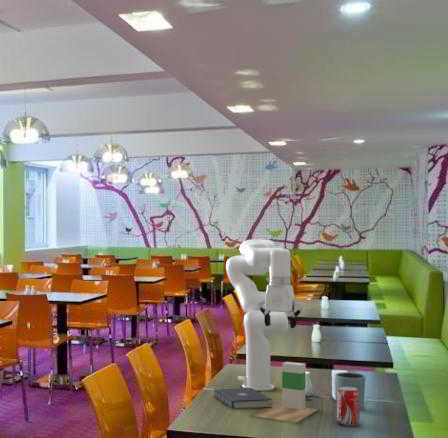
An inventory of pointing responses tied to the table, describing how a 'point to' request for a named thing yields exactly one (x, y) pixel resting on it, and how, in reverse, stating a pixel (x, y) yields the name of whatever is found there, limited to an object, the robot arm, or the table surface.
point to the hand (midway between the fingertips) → (280, 326)
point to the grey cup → (353, 384)
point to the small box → (335, 382)
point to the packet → (293, 385)
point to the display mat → (284, 413)
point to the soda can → (348, 406)
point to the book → (242, 398)
